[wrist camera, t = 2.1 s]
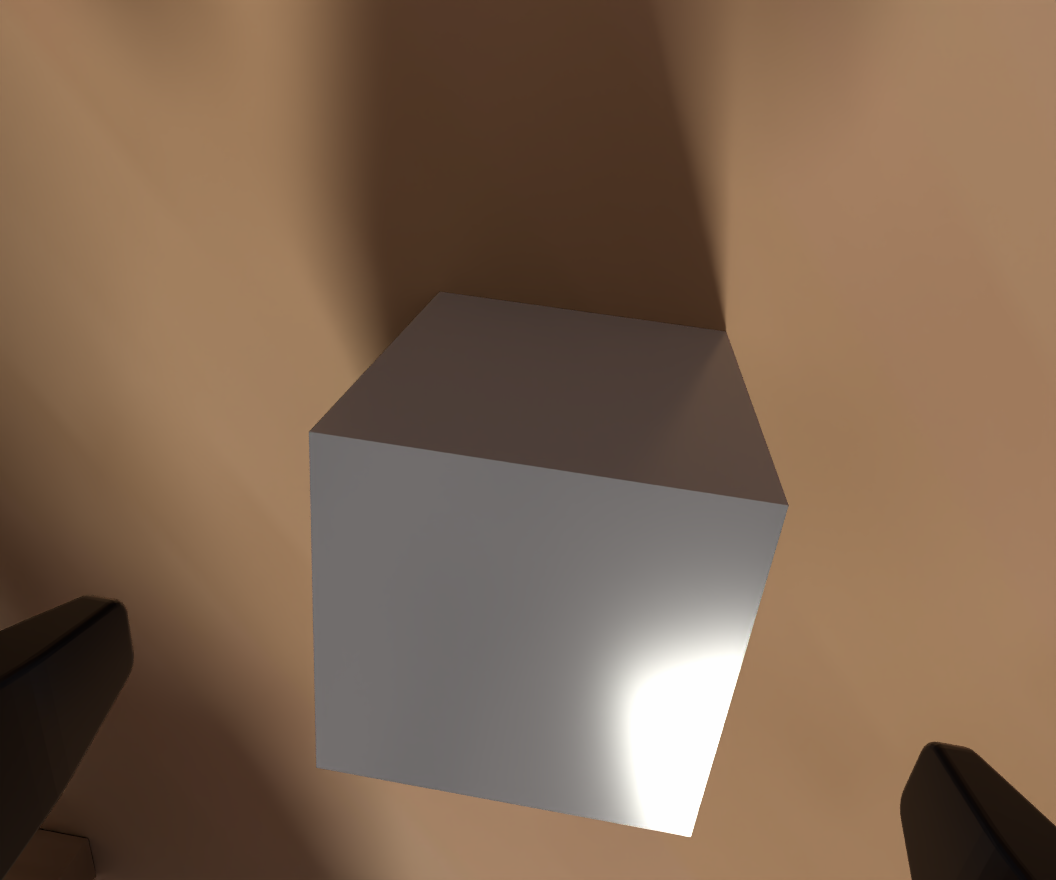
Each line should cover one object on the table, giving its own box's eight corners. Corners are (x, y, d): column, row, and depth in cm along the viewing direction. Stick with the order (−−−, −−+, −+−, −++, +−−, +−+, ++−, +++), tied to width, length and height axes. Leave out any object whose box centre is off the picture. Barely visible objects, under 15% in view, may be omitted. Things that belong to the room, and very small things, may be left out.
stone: (671, 570, 15) (691, 837, 10) (426, 530, 16) (316, 767, 10) (725, 330, 13) (788, 505, 8) (440, 291, 13) (309, 431, 8)
